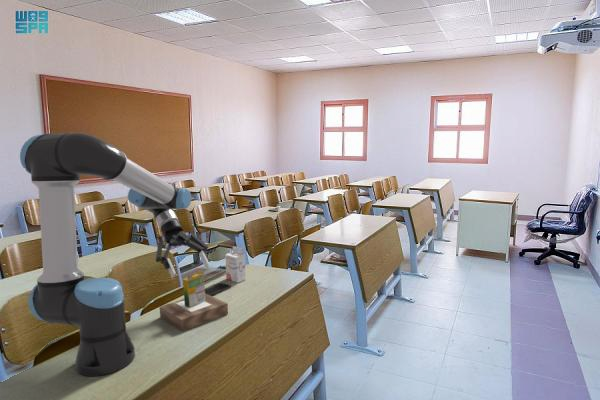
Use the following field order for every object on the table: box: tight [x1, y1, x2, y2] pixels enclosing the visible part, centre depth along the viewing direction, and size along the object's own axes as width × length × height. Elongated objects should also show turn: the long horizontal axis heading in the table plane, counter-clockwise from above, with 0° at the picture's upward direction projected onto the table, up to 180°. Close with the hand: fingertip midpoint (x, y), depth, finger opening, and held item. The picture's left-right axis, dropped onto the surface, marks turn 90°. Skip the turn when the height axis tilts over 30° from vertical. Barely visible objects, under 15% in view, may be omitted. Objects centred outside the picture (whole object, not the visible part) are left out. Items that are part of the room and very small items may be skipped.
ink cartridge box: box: [224, 245, 247, 284], centre depth 178 cm, size 9×5×15 cm, turn 47°
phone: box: [205, 282, 232, 297], centre depth 165 cm, size 8×1×15 cm
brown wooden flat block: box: [159, 293, 229, 332], centre depth 141 cm, size 18×16×4 cm
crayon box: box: [182, 270, 206, 307], centre depth 141 cm, size 7×3×12 cm, turn 144°
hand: (191, 271), depth 143 cm, fingers open, 13 cm apart
